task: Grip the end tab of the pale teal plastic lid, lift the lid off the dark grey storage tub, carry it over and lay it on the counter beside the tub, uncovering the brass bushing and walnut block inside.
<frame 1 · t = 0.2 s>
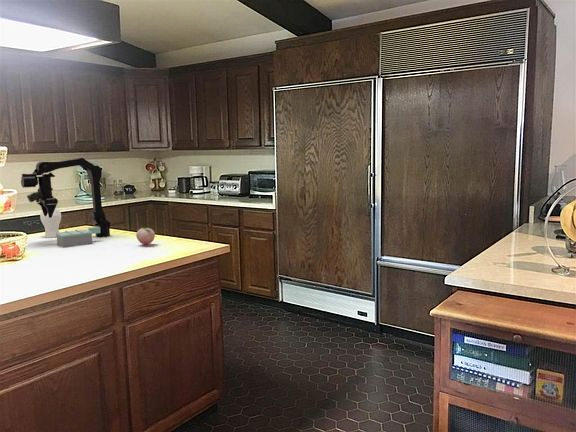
hand: (47, 216, 245), 14 cm above the countertop, tool pointing down, fingers open, 9 cm apart
cup: (52, 236, 270), on the countertop
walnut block: (69, 245, 240), point 1 cm above the countertop, touching tub
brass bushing: (81, 242, 246), point 1 cm above the countertop, touching tub
decorative fruit: (146, 245, 242), on the countertop
lid: (74, 234, 242), point 6 cm above the countertop, touching tub
tub: (75, 245, 243), on the countertop
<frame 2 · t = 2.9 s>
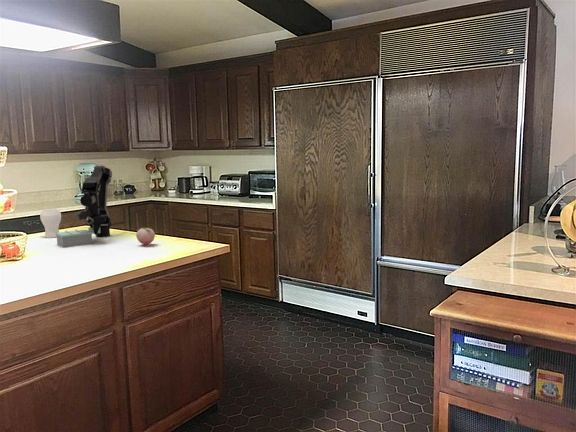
hand: (94, 234, 249), 5 cm above the countertop, tool pointing down, fingers closed on lid, 3 cm apart
lid: (74, 234, 242), point 6 cm above the countertop, touching gripper, tub
everything else where it was.
when the fingers open (1 cm above the countertop, at t = 7.8 s): lid stays where it is, point 1 cm above the countertop.
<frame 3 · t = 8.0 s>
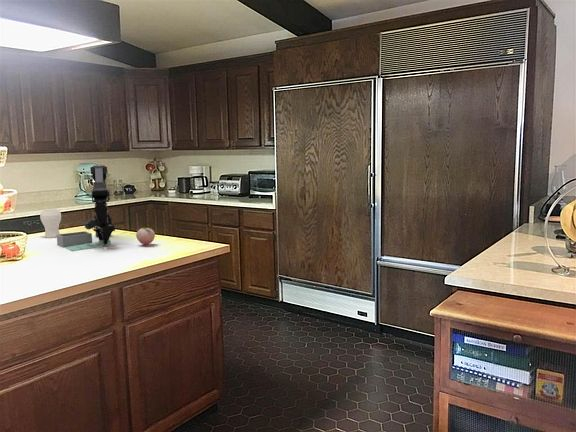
hand: (103, 243, 240), 1 cm above the countertop, tool pointing down, fingers open, 5 cm apart
lid: (84, 247, 234), point 1 cm above the countertop
everything else where it was.
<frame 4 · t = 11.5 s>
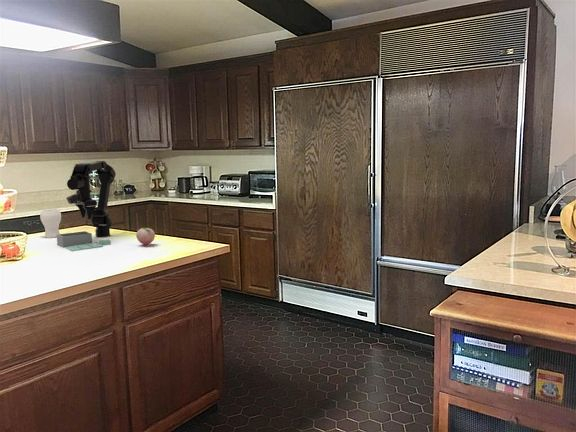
hand: (86, 218, 247), 13 cm above the countertop, tool pointing down, fingers open, 9 cm apart
nothing on the countertop moved.
at the end: lid inside the target area (1.2 cm from its centre), point 0.5 cm above the countertop; the gripper is holding nothing; lid touching countertop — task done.
